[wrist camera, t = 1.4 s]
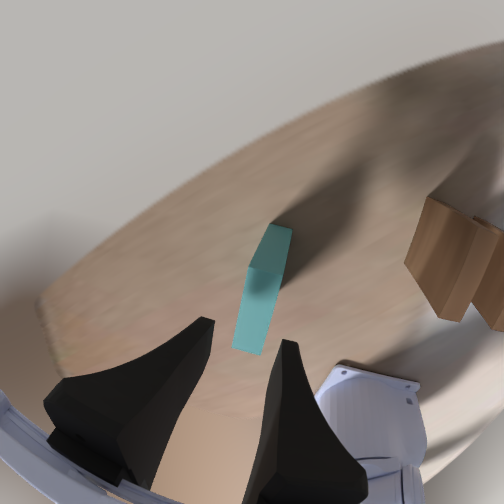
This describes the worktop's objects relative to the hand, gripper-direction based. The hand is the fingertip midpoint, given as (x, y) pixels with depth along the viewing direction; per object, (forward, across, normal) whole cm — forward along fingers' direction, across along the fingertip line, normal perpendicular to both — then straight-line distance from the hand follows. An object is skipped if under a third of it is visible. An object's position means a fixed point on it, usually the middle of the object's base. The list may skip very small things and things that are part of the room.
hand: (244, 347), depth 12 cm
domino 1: (+9, 0, 0) cm, 9 cm away
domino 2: (+9, -10, -5) cm, 15 cm away
